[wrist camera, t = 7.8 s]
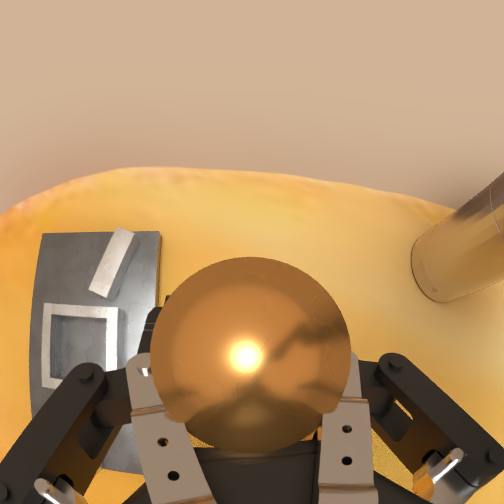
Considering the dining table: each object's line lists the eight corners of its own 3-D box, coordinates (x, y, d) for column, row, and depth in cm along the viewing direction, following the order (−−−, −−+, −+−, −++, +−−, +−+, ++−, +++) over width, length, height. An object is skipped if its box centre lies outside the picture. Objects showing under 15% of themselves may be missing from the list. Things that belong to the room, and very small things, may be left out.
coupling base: (48, 238, 29) (34, 226, 26) (161, 237, 30) (155, 222, 27) (43, 449, 21) (27, 455, 17) (164, 471, 22) (158, 484, 19)
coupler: (253, 302, 17) (297, 229, 8) (289, 377, 16) (379, 391, 7) (175, 336, 16) (120, 301, 7) (211, 413, 15) (205, 481, 5)
